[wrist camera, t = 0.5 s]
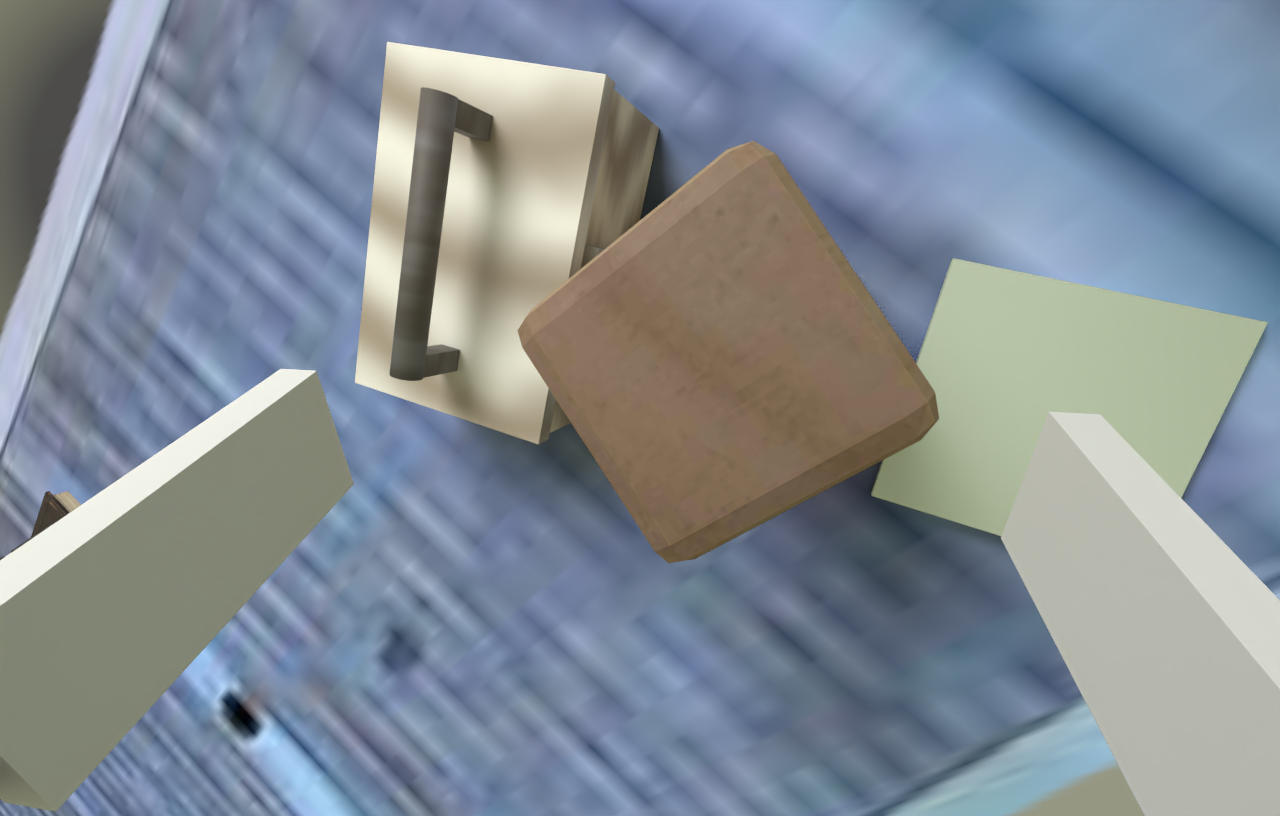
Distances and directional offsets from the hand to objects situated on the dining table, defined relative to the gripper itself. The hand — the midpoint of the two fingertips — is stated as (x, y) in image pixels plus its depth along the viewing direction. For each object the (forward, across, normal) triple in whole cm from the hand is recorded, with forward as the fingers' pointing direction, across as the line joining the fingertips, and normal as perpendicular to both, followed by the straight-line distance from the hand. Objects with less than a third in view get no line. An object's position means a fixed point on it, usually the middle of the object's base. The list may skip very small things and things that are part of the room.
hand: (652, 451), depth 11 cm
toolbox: (+29, -11, -5) cm, 32 cm away
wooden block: (+26, +4, -8) cm, 27 cm away
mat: (+22, +18, -11) cm, 30 cm away
